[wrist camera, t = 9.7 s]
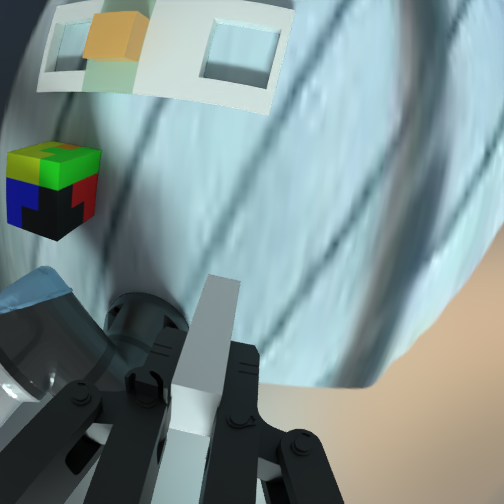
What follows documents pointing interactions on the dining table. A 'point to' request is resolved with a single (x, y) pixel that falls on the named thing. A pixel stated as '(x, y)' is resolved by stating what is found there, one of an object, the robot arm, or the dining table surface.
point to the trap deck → (169, 51)
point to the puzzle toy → (51, 187)
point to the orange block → (116, 36)
